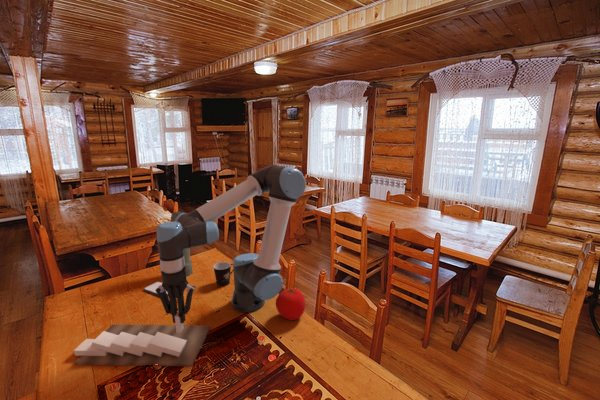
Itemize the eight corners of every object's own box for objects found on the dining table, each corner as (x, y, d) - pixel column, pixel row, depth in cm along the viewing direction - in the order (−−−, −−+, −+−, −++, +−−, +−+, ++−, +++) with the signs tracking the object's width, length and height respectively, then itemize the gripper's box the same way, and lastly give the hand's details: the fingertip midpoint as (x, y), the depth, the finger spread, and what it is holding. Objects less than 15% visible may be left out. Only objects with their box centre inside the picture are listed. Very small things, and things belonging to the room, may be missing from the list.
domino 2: (133, 339, 110) (103, 330, 110) (123, 351, 104) (92, 342, 104) (132, 344, 111) (102, 335, 110) (122, 356, 105) (91, 346, 104)
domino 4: (169, 340, 110) (140, 331, 109) (161, 352, 104) (130, 343, 104) (168, 344, 110) (139, 336, 110) (160, 356, 105) (129, 348, 104)
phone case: (142, 291, 149) (164, 299, 142) (142, 288, 149) (163, 296, 142) (158, 283, 157) (179, 290, 149) (157, 280, 157) (179, 287, 149)
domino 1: (115, 339, 110) (86, 338, 111) (105, 351, 104) (73, 350, 105) (116, 343, 111) (87, 343, 111) (105, 355, 105) (75, 355, 105)
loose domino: (186, 340, 110) (157, 331, 109) (180, 352, 104) (149, 343, 103) (185, 344, 110) (156, 336, 110) (178, 356, 104) (148, 348, 104)
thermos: (186, 279, 160) (180, 216, 152) (170, 274, 165) (163, 213, 157) (198, 272, 168) (192, 211, 160) (182, 268, 173) (176, 209, 164)
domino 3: (151, 339, 110) (121, 331, 109) (142, 351, 104) (111, 343, 104) (150, 344, 111) (120, 336, 110) (141, 356, 105) (110, 347, 104)
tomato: (307, 310, 132) (307, 284, 129) (301, 327, 121) (301, 299, 118) (280, 307, 135) (280, 281, 132) (272, 323, 124) (271, 295, 121)
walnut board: (210, 327, 121) (210, 325, 121) (191, 366, 102) (191, 363, 101) (112, 326, 122) (112, 324, 122) (75, 364, 102) (75, 362, 102)
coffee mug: (216, 289, 150) (214, 270, 148) (213, 281, 158) (212, 263, 155) (239, 284, 154) (238, 266, 152) (235, 276, 162) (234, 259, 160)
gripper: (196, 263, 103) (202, 323, 109) (159, 263, 104) (166, 323, 109) (188, 273, 96) (194, 337, 102) (148, 273, 96) (156, 337, 102)
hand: (180, 330), depth 105 cm, fingers closed
